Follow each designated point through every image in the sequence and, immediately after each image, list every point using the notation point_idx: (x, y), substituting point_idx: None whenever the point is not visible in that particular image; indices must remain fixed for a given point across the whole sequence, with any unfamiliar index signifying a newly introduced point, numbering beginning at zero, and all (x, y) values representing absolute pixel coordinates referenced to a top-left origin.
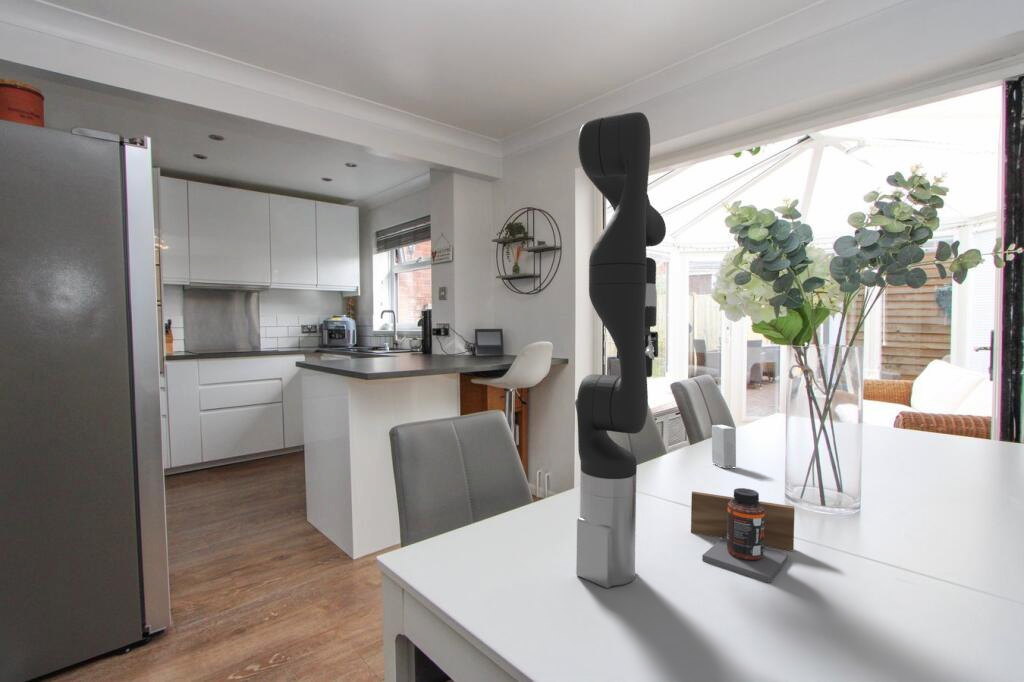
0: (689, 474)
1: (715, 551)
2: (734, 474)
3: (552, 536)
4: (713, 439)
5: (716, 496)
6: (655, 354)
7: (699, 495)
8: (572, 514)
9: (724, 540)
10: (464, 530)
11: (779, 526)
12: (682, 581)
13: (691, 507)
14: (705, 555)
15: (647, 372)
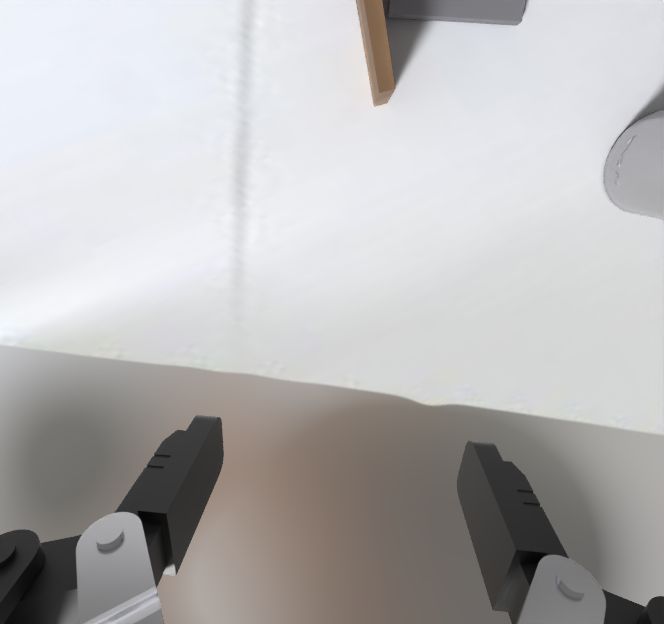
0: (32, 246)
1: (488, 1)
2: None
3: (555, 308)
4: None
5: (380, 14)
6: (28, 566)
7: (391, 66)
8: (441, 331)
9: (415, 5)
10: (603, 421)
11: None
12: (629, 25)
13: (391, 94)
14: (521, 14)
15: (212, 454)
